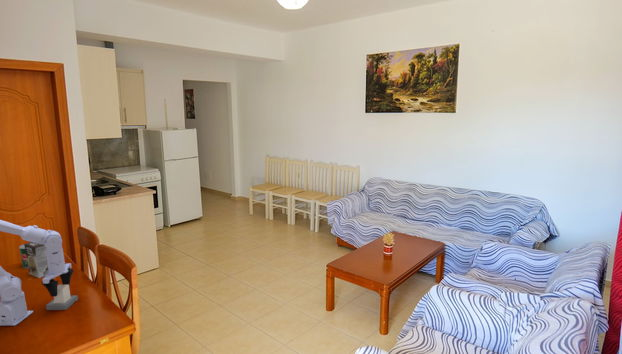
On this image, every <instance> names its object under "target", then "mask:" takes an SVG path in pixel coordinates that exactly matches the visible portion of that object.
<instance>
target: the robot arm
mask: <svg viewBox="0 0 622 354" xmlns="http://www.w3.org/2000/svg"><path fill="white" fill-rule="evenodd" d="M0 232H3V233H8V234H12V235H17V236H20V237H21V239H22V240H23V241H26V242H34V243H38V244H44V245H45V246H46V256H47V263H48V270H49V272H48V274H47V275H46V276H44V277H42V281H41V285H42V286H44V287H45V289H46V290H47V292H48V293H49V295H50V297H52V298H54V297H56V296H57V286H58V285H59V280H55V279H56V277H58V276H59V278H60V280H61V285H69V286H70V283H71V279H72V275H73V273H74V268H72V263H71V262H70V263H67V262H66V261H65V254H64V249H63V239H62V236H61V234H60V233H59V232H58V231H56V230H51V229H47V230H46V229H43V228H40V227H38V225H35V224H33V225H28V226H22V225H18V224H14V223H11V222H9V221H5V220H3V219H0ZM26 302H27V301H26V297H25V292H24V291H23V290H22V280H21V279H20V278H19V277H17V276H14V275H12V273H10V272H7V271H6V270H5V269H4V268H3V266H1V265H0V326H17V325H18V324H20V323H21V322H22V321H23V320H25V319H26V318H28V317H30V315H31V314H33V313H34V310H28V307H27V303H26Z"/></svg>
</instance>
